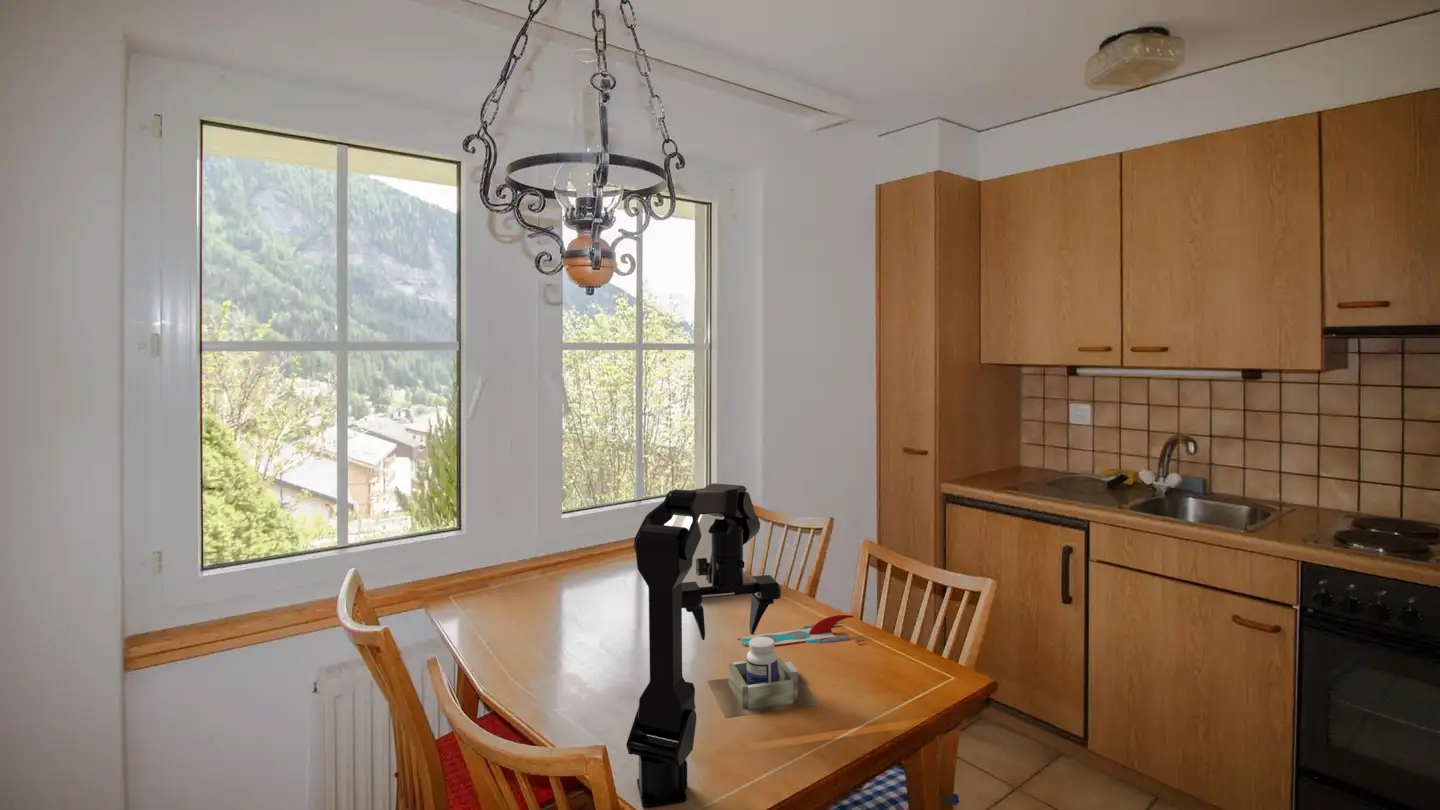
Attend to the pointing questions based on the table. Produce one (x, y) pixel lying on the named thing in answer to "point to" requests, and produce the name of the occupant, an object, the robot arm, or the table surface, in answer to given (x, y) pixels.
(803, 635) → the toy spaceship
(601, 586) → the table surface
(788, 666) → the block
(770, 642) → the pill bottle
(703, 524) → the white sloped block
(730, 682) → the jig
